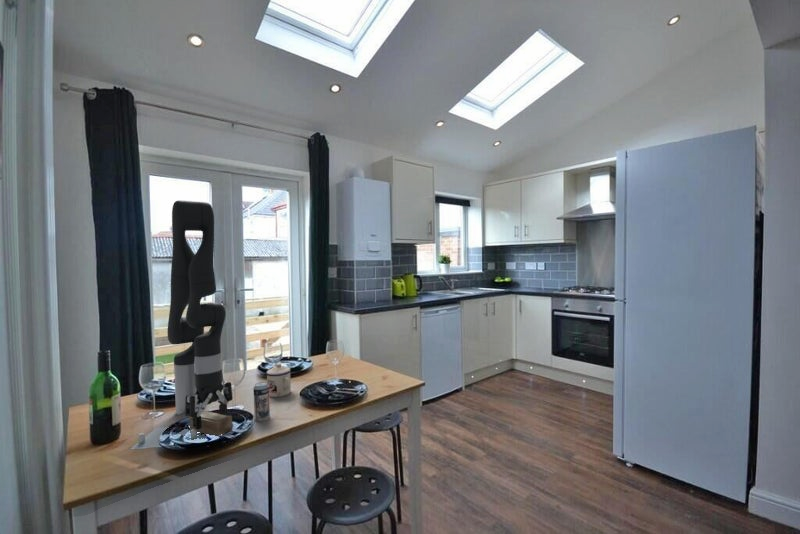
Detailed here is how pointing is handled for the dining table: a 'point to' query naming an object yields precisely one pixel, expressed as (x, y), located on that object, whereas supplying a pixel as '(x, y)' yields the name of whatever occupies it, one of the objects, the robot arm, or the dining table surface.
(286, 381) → the teacup with lid
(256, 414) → the beer can
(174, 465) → the dining table surface
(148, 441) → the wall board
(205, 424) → the brown rectangular block
